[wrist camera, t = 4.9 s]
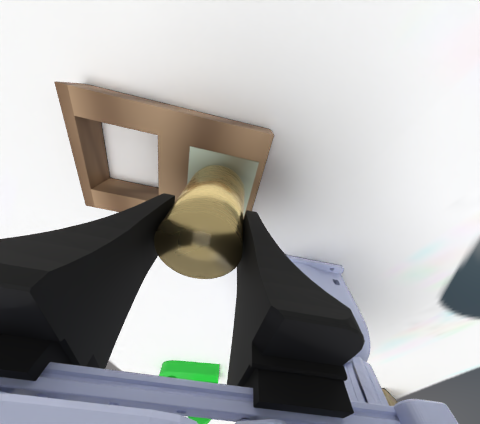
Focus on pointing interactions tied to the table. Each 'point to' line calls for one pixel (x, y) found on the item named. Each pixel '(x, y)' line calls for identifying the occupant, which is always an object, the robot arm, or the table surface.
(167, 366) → the mechanical part
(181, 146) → the pocket board
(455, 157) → the table surface
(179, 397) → the robot arm
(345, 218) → the table surface
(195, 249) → the cylinder
